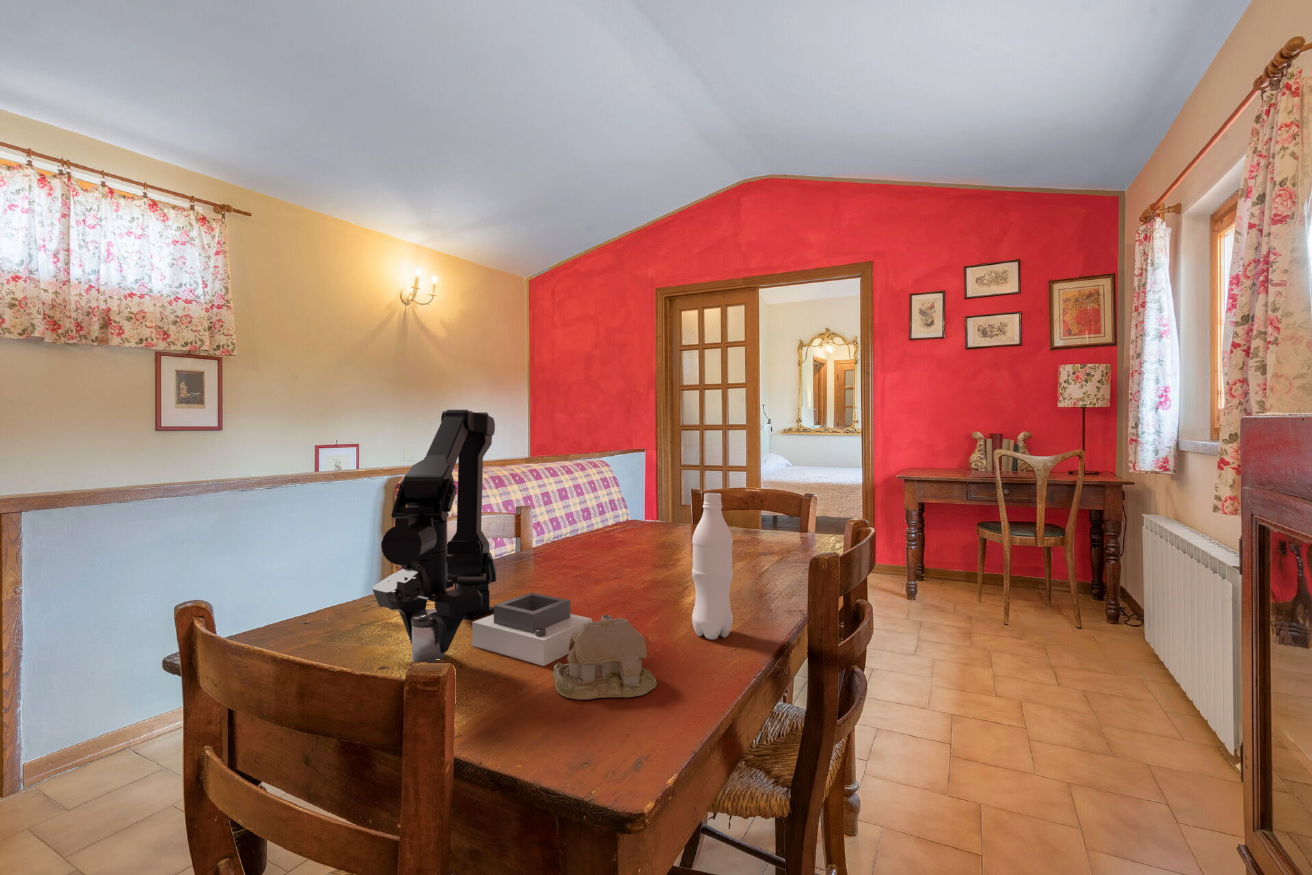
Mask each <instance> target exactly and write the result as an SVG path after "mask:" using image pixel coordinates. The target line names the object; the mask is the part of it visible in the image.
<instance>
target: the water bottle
mask: <svg viewBox="0 0 1312 875" xmlns="http://www.w3.org/2000/svg"><path fill="white" fill-rule="evenodd" d="M702 508H703V512H702V515H701V518H700V520H699V522H698V523H697V525H696V528H695V530H694V532H693V536H692V540H691V543H692V569H691V576H692V579H693V582H694V587H695V588H694V590H695V600H694V601H695V602H694V606H693V610H692V613H691V618H692V619H691V621H692V622H691V623H692V626H693V629H694V632H695V634H696V636H698V637H702V636H704V637H705V638H706V639H708V640H712V641H714V640H717V639H718V638H719V636H721V637H722V638H727V637H728V636H729V635H730V632H731V629H732V628H733V620H734V617H733V612H732V609H731V605H730V594H731V593H730V592H731V584H732V581H733V578H734V569H733V544H734V540H733V535H732V533H731V529H730V527H729V526H728V524H727V522H726V520H725V518H724V516H723V512H722V509H723V508H724V506H723V503H722V494H721V493H718V492H705V493H704V494H703V505H702Z"/></svg>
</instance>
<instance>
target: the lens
mask: <svg viewBox="0 0 1312 875" xmlns="http://www.w3.org/2000/svg"><path fill="white" fill-rule="evenodd" d="M434 612H437V611H436V609H435V608H431V609H429V608H428V609H425V610H422V611H418V612H416V613H414V614H412V616H411V625H412V644H411V660H413V661H412V662H413V663H415V662H433V663H437V662H439V661H441V660H436V659H442V660H444V658H446V654H447V652H445V653H441V652H440V647H439V638H438V625H437V621H436V620H435V619H434V618H433V617H431V616H430V614H431V613H434Z"/></svg>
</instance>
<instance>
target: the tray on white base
mask: <svg viewBox="0 0 1312 875" xmlns="http://www.w3.org/2000/svg"><path fill="white" fill-rule="evenodd" d="M493 607H494V611H493V614H491V615H488V616H485V617H481V618H480V619H477V620H474V621H472V622H471V628H472V629H471V636H472V637H471V638H472V639H471V641H472V642H471V646H472V647H475V648H478V649H483V650H486V651H490V652H493V653H497V654H500V655H504V656H508V657H511V658H514V659H518V660H521V661H524V662H528V663H532V664H535V665H539V666H543V667H545V666H546V665H549V664H551V663H553V662H555V661H557V660H558V659H561V658H563V657H565V656H566V655H567V656H568V655H569V653H570V652H569V650H568V647H569V643H570V638H571V636H572V635H573V633H575V632H576V631H577V630H579V629H580V628H581V627H582V626H583V624H586V623H590V622H593V618H591V617H585V616H582V615H577V614H572V613H571V599H566V598H562V597H561V598H560V597H556V596H550V595H546V594H543V593H542V594H540V593H536V592H529V593H526V594H523V595H519V596H516V597H514V598H511V599H508V600H506V601H505V600H504V601H502V602H500V603H497V604H494V605H493Z"/></svg>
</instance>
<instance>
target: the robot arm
mask: <svg viewBox="0 0 1312 875" xmlns="http://www.w3.org/2000/svg"><path fill="white" fill-rule="evenodd" d="M440 417H441V419H440V424H439V427H438V429H437V431H436V434H435V435H434V438H433V439H432V442H431V444H430V446H429V449H428V450H427V453H426V455H425V457H423V459H422V460H420V461H418V462H417V463H414V464H412V466H410V468H409V470H408V471H407V472H406V474H405V476H404V477H403V479H402V480H401V482H400V484H399V488H398V491H397V494H396V498H395V501H394V505H393V509H392V510H391V518H392V519H394V524H395V525H394V526H393V527H390V528H389V529H388V530H387V531H386V532H385V534H384V536H383V537H382V541H381V542H380V544H381V545H380V547H381V552H382V555H383V556H384V558H386V560H387V561H389V562H390V563H391V564H394V565H396V566H401V567H400V570H398V571H397V572H394V573H392V574H390V575H388V576H387V577H385V578H384V579H382V580H380V581H379V582H378V583H376V584H374V585H373V586H372V592H373V595H374V598H375V600H376V603H377V605H378V607H379V608H386V609H389V610H390V611H397V612H398V613H399V614H400V618H401V619H402V622H403V625H404V629H405V631H406V633H407V636H408V638H409V642H410V644H411V645H412V625H411V616H412V614H414V613H416V612H418V611H422V610H427V609H426V608H427V603H428V601H429V602H434V609H436V611H437V612H434V613H431V614H430V616H431V617H433V618H434V619H435V620H436V621H437V625H438V638H439V647H440V652H441V653H445V652H446V653H447V652H448V651H449V649H450V646H451V644H452V642H453V640H454V638H455V636H456V635H457V631H458V629H459V627H460V625H461V624H462V622H463V621H464V619H473V618H477V617H480V616H482V615H483V616H484V615H485V614H488V613H491V612H494V606H490V604H491V603H490V600H491V599H490V588H489V585H490V584H492V583H496V582H497V566H496V563H495V560H494V557H493V556H492V553H491V552H490V543H489V541H488V539H487V538H486V536H485V534H484V532H483V530H482V515H483V513H482V510H483V506H482V505H483V478H484V477H483V476H484V475H483V474H484V471H483V468H484V466H483V465H484V456H485V455H486V454H487V452H488V450H489V449H490V448H491V447H492V442H493V436H494V435H495V431H496V423H495V422H496V421H495V420H494V419H495V418H494V417H492V416H490V414H489V413H488V412H482V411H481V412H474V411H471V410H469V409H447V410H444V411H443V412H442V413H441V416H440ZM457 462H458V464H457V466H458V467H457V468H458V470H457V486H456V484H455V479H454V475H453V471H454V469H455V466H456V463H457ZM456 496H457V499H456ZM455 499H456V500H457V502H456V505H457V506H456V532H455V533H454V535H453V536H452V538H451V539H450V540H448V517H449V515H450V514H449V513H451V510H452V508H453V505H454V502H455ZM453 587H454V589H451V590H450V588H453ZM447 589H449V590H447Z"/></svg>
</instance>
